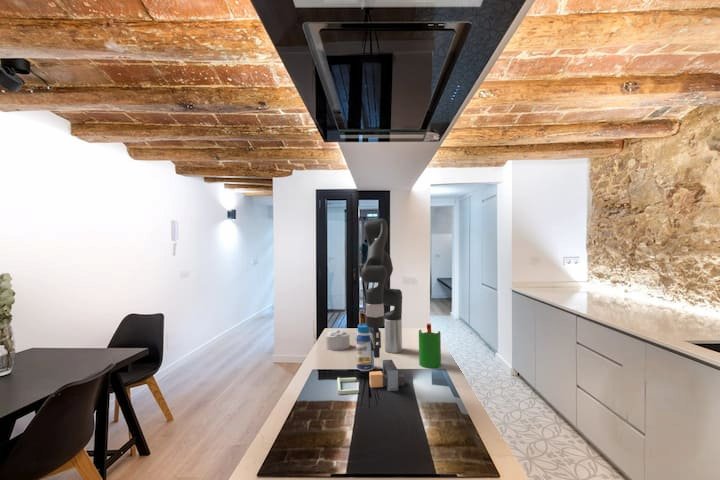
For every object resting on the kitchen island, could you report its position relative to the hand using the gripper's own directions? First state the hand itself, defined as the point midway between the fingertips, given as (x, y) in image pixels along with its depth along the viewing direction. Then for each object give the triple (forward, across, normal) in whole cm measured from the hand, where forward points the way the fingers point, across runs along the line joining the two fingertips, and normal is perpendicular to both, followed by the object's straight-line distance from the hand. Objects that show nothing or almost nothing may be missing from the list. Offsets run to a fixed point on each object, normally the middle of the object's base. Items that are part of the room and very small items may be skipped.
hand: (375, 354), depth 134 cm
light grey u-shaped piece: (+13, 0, -11) cm, 17 cm away
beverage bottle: (+13, -19, -2) cm, 23 cm away
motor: (+13, -19, +29) cm, 37 cm away
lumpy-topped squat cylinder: (+13, -53, -14) cm, 56 cm away
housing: (+13, 0, +6) cm, 14 cm away
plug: (+13, 0, +5) cm, 14 cm away
